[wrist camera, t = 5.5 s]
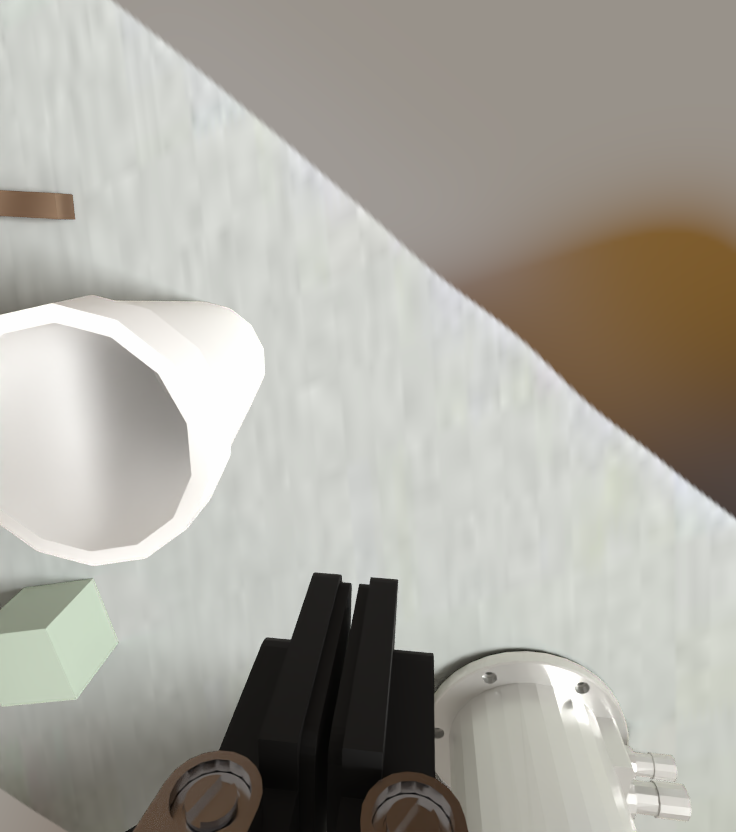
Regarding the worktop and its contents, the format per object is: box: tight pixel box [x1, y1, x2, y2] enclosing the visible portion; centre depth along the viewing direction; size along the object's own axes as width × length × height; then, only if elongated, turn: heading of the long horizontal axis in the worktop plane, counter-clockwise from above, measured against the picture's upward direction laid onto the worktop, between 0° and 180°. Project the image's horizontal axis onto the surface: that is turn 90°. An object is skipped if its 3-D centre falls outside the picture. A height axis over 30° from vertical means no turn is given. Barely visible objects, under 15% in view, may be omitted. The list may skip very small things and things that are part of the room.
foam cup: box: [0, 295, 265, 566], centre depth 26 cm, size 10×9×13 cm
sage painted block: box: [0, 578, 119, 707], centre depth 36 cm, size 5×5×5 cm
